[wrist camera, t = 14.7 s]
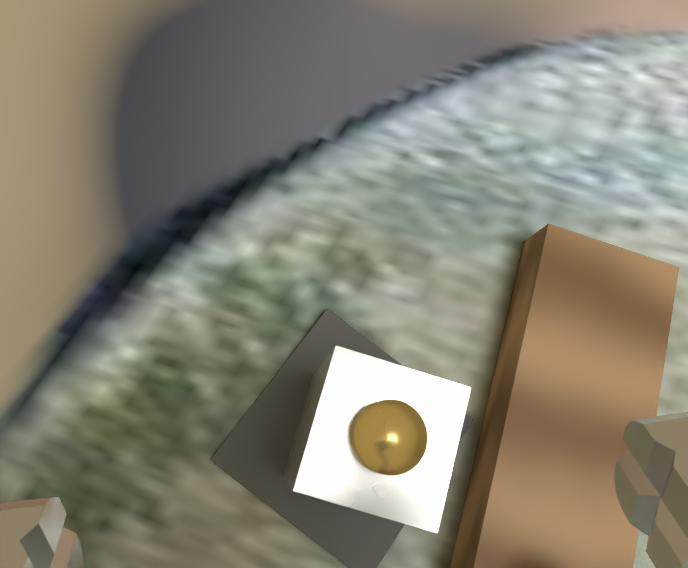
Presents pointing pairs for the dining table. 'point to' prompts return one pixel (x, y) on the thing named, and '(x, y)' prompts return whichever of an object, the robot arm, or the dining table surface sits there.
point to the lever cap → (378, 438)
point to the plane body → (566, 406)
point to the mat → (275, 443)
